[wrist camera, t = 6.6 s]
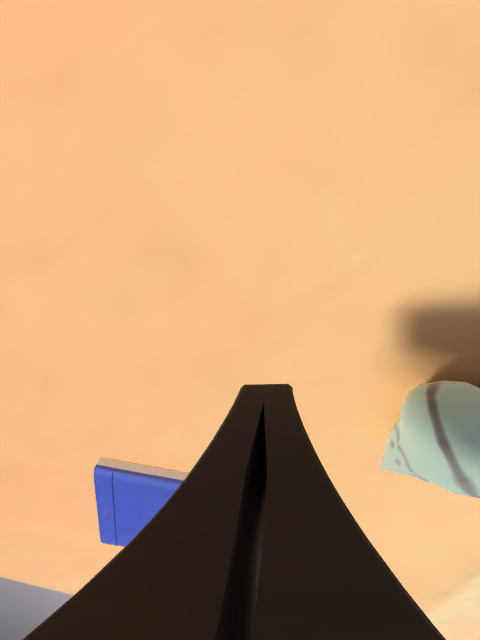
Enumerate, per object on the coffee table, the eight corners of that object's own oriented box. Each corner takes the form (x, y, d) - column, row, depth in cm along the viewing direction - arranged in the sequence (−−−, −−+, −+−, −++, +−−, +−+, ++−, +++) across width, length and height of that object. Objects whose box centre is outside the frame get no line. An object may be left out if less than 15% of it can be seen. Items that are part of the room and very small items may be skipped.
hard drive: (299, 509, 20) (92, 471, 21) (273, 578, 24) (100, 546, 25) (298, 484, 22) (103, 449, 22) (274, 554, 26) (109, 524, 26)
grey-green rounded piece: (581, 435, 10) (625, 543, 12) (562, 327, 12) (602, 437, 15) (328, 428, 15) (396, 502, 18) (349, 356, 18) (406, 431, 20)
